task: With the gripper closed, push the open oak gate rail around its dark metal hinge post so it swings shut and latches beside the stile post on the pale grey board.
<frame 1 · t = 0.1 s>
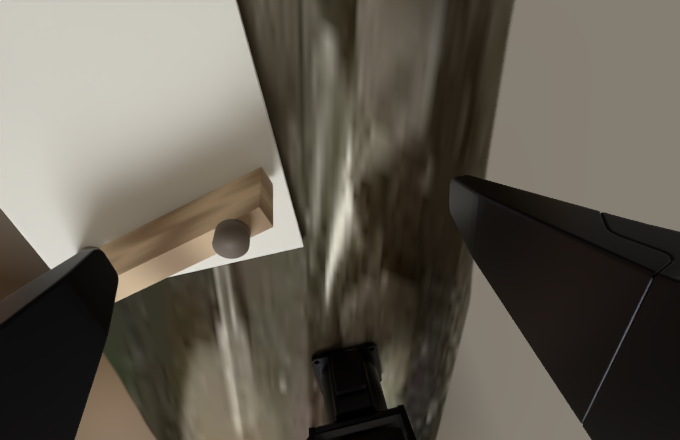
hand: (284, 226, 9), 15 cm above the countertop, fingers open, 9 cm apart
gate frame: (98, 250, 25), on the countertop
gate: (159, 250, 21), point 4 cm above the countertop, hinge at -75.0°
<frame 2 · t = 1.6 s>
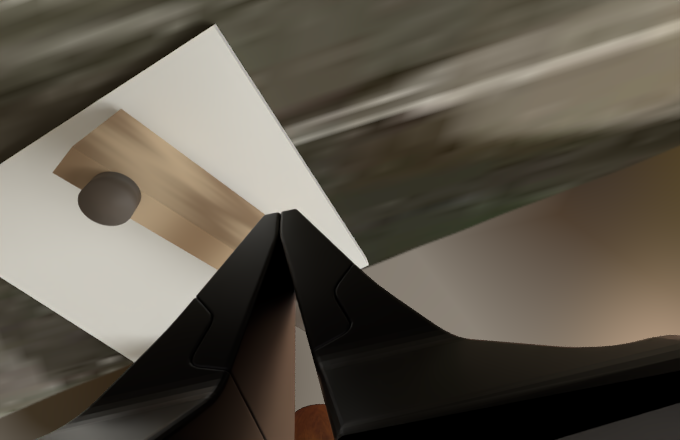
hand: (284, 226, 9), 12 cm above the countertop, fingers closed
gate frame: (310, 249, 25), on the countertop
gate: (229, 234, 18), point 4 cm above the countertop, hinge at -75.0°
wooden figurine: (314, 411, 36), on the countertop
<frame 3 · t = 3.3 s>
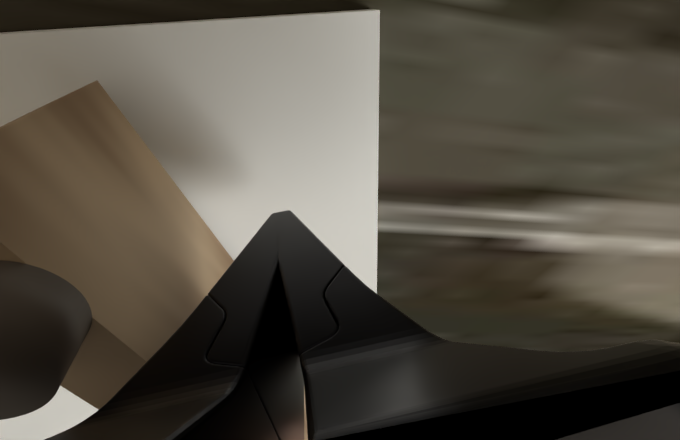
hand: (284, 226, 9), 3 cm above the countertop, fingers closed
gate frame: (308, 363, 16), on the countertop
gate: (227, 375, 9), point 4 cm above the countertop, hinge at -71.3°, touching gripper
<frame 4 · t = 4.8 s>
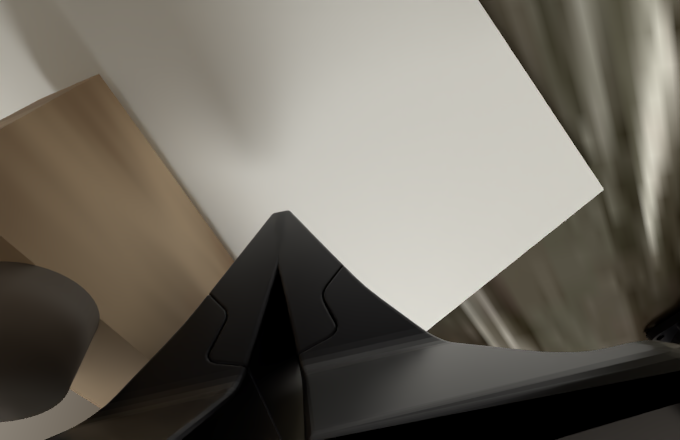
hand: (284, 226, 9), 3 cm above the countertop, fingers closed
gate frame: (301, 359, 17), on the countertop
gate: (225, 372, 9), point 4 cm above the countertop, hinge at -27.7°, touching gripper
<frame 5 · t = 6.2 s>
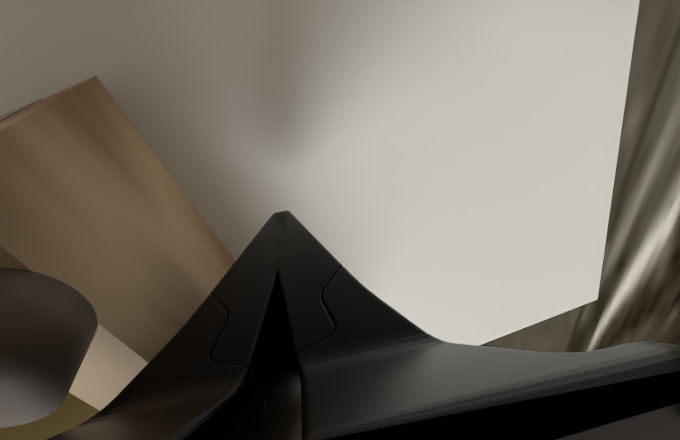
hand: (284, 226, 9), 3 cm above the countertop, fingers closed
gate frame: (304, 358, 17), on the countertop
gate: (227, 373, 9), point 4 cm above the countertop, hinge at 0.4°, touching gripper
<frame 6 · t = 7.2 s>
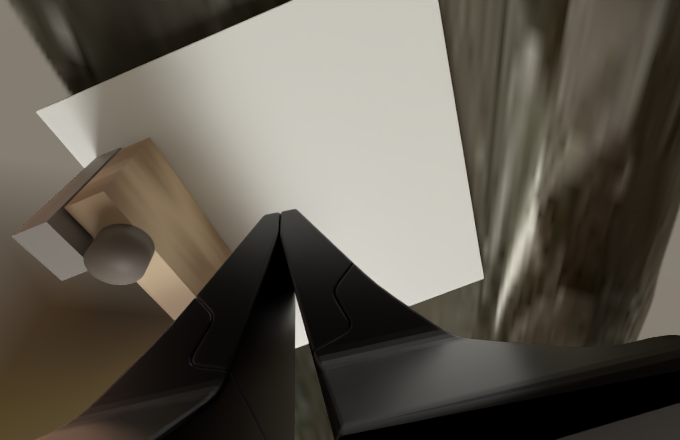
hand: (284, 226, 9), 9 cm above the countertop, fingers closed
gate frame: (273, 314, 24), on the countertop
gate: (214, 299, 17), point 4 cm above the countertop, hinge at 0.4°
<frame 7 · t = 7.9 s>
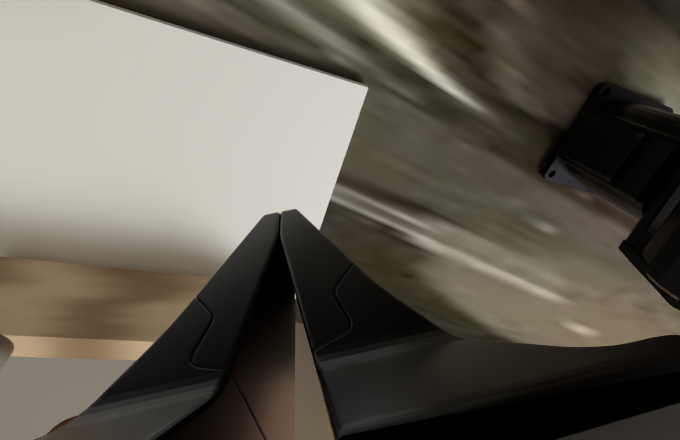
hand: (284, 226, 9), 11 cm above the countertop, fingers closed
gate frame: (255, 277, 24), on the countertop
gate: (133, 318, 19), point 4 cm above the countertop, hinge at 0.4°
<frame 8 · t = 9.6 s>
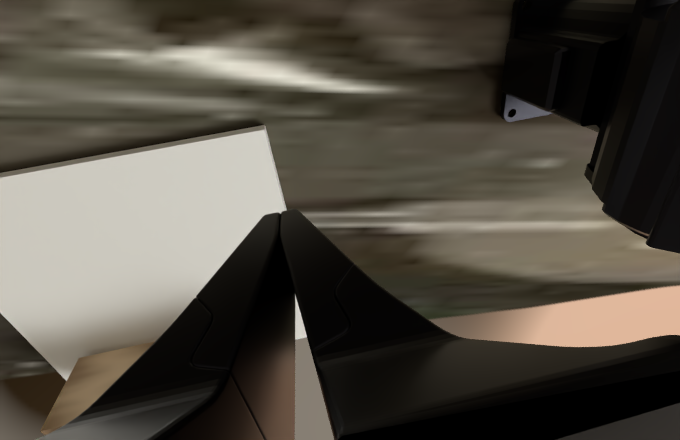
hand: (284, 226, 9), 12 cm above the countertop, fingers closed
gate frame: (271, 309, 27), on the countertop
gate: (175, 379, 23), point 4 cm above the countertop, hinge at 0.4°
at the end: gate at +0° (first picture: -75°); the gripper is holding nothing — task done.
